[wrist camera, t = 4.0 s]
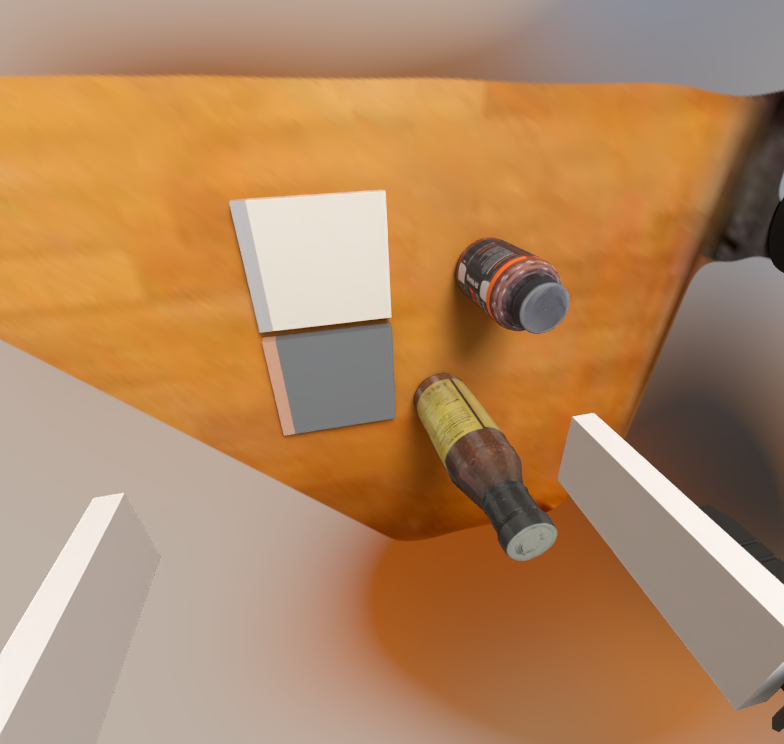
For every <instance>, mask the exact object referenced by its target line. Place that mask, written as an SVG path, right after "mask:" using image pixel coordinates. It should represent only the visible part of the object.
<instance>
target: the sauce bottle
mask: <svg viewBox="0 0 784 744" xmlns="http://www.w3.org/2000/svg"><path fill="white" fill-rule="evenodd" d="M415 405H416V407H417V412H418V415H419V417H420V419H421V421H422V423H423V425H424V427H425V429H426V431H427V433H428V435H429V437H430V439H431V441H432V443H433V445H434V447H435V449H436V451H437V453H438V455H439V457H440V459H441V461H442V463H443V464H444V466H445V469H446V471H447V472H448V474H449V476H450V478H451V480H452V481H453V483H454V484H455V485H456V486H457V487H458V488H459V489H460V490H461V491H462V492H463V493H465V494H466V495H467V496H468V497H469V498H470V499H471V500H472V501H473V502H474V503H475V504H477V505H478V506H479V507H480V508H481V509H482V510H483V511H484V512H485V514H486V515H487V516H488V518H489V519H490V521H491V523H492V525H493V527H494V529H495V530H496V532H497V534H498V541H499V543H500V545H501V547H502V548H503V550H504V551H505V553H506V554H507V555H508V556H509V557H510V558H512V559H514V560H520V561H525V560H530V559H532V558H534V557H536V556H538V555H540V554H542V553H543V552H545V551H546V550H547V549H548V548H549V547H551V546H552V544H553V543H554V541H555V539H556V537H557V529H556V527H555V525H554V524H553V523H552V521H551V519H550V518H549V516H548V515H547V514H546V513H545V512H543V511H542V510H540V509H539V507H538V506H537V504H536V503H535V502H534V500H533V499H532V497H531V496H530V494H529V492H528V489H527V488H526V487H525V486H524V485H523V481H522V466H521V460H520V458H519V456H518V454H517V453H516V451H515V450H514V448H513V447H512V446H511V445H510V444H509V442H508V441H507V439H506V437H505V435H504V434H503V432H502V431H501V430H500V429H499V427H498V426H497V425H496V423H495V422H494V421H493V419H492V418H491V417H490V416H489V414H488V413H487V412H486V410H485V409H484V408H483V406H482V405H481V404H480V403H479V401H478V400H477V398H476V397H475V396H474V395H473V393H472V392H471V391H470V390H469V388H468V387H467V386H466V385H465V384H464V383H463V382H462V380H461V379H459V378H457V377H456V376H453V375H450V374H446V373H441V374H436V375H433V376H432V377H429V378H427V379H426V380H425V381H423V383H422V384H421V385H420V386H419V388H418V389H417V391H416V395H415Z"/></svg>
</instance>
